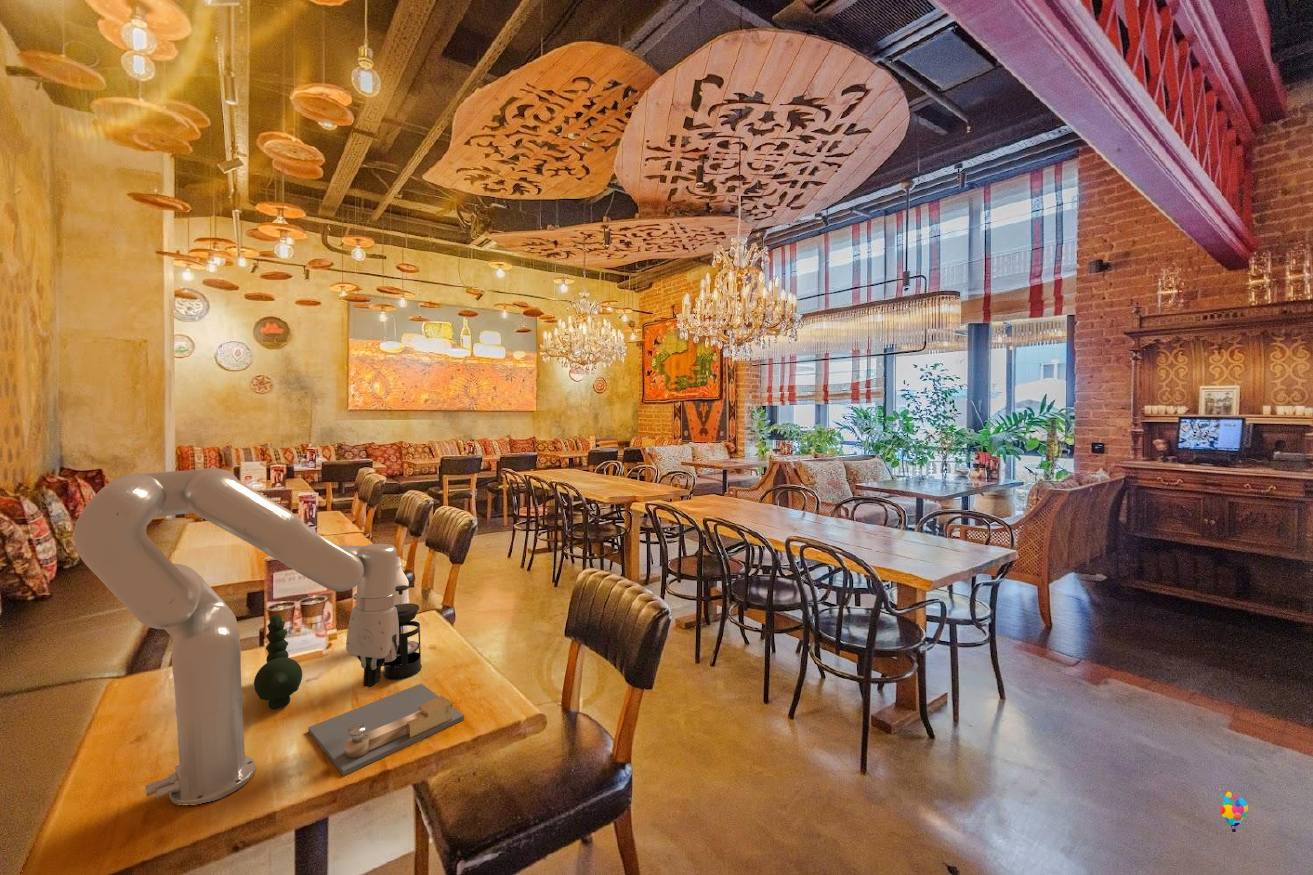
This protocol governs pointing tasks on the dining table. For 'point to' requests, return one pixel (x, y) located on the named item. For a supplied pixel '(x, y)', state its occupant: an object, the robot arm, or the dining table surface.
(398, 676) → the french press
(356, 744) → the beech link
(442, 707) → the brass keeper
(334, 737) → the charcoal board
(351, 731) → the steel pin
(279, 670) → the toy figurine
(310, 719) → the dining table surface
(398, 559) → the water bottle
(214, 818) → the dining table surface
